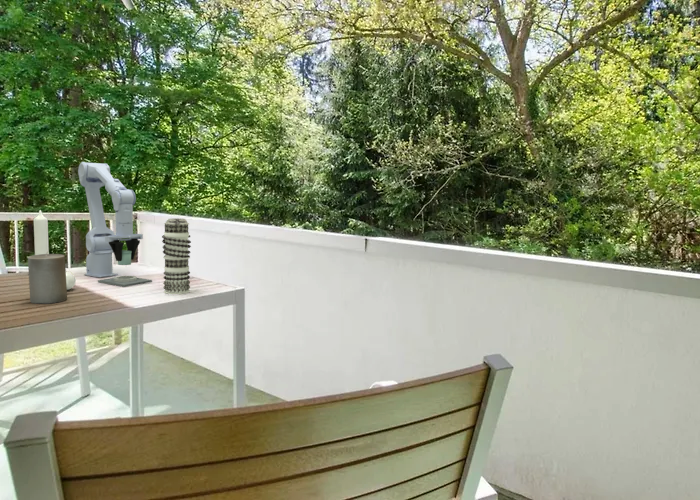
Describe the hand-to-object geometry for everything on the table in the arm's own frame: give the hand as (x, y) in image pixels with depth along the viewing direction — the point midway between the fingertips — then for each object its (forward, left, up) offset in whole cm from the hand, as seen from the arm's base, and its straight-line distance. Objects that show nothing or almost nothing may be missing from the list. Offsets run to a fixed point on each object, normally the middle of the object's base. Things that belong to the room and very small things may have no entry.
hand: (124, 260), depth 182 cm
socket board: (0, 0, -8) cm, 8 cm away
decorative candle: (+27, -1, -8) cm, 28 cm away
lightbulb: (+2, -27, -7) cm, 28 cm away
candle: (-35, -9, -8) cm, 37 cm away
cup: (0, 0, -2) cm, 2 cm away
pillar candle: (+6, -33, -8) cm, 34 cm away
